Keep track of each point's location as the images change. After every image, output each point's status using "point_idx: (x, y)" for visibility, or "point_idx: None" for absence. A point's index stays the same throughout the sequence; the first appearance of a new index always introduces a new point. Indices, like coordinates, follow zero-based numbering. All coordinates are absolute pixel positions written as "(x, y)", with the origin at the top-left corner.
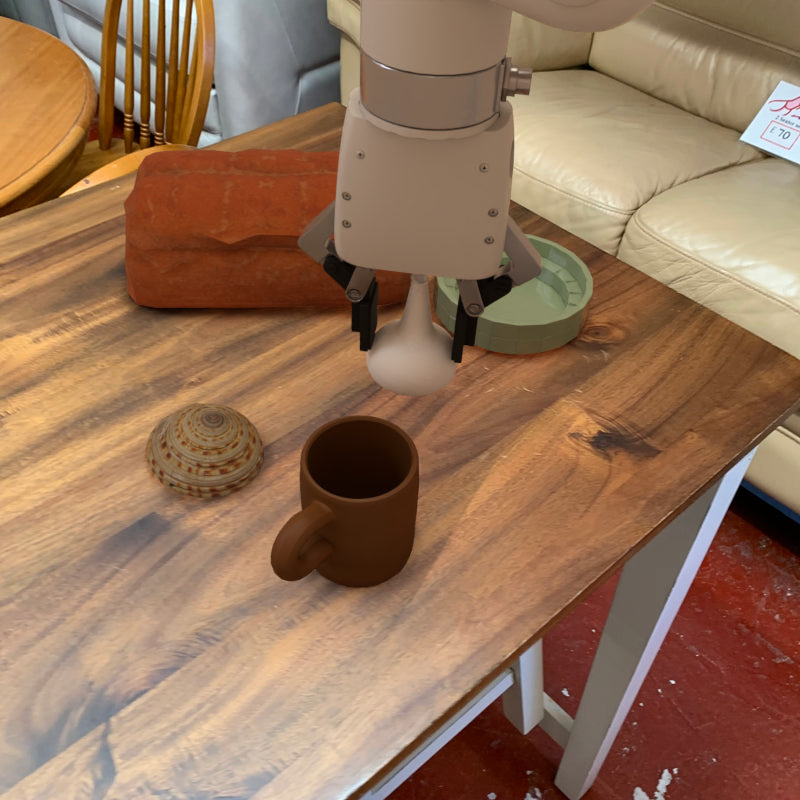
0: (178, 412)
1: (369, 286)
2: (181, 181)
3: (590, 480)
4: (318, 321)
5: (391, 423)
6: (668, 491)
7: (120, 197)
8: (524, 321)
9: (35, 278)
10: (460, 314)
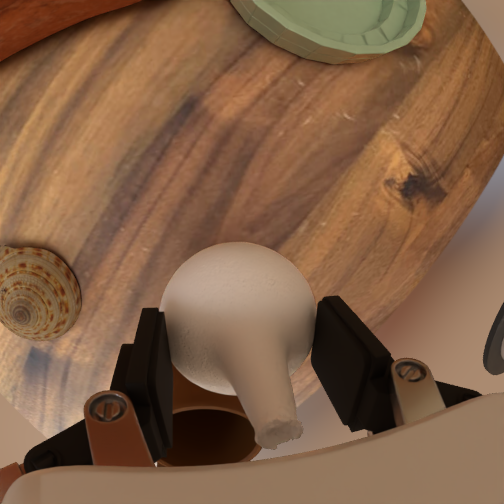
0: None
1: (154, 451)
2: None
3: (394, 238)
4: (75, 44)
5: (227, 409)
6: (442, 237)
7: None
8: (362, 47)
9: None
10: (355, 424)
